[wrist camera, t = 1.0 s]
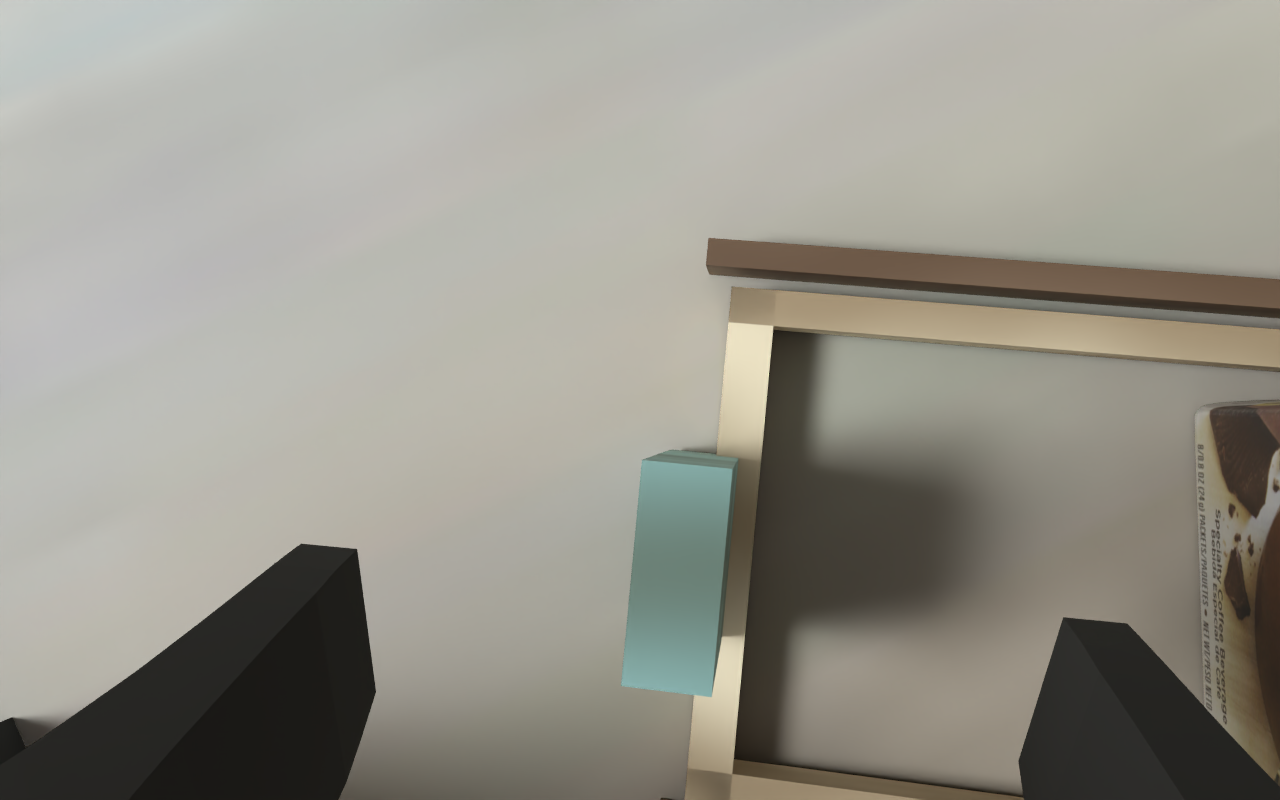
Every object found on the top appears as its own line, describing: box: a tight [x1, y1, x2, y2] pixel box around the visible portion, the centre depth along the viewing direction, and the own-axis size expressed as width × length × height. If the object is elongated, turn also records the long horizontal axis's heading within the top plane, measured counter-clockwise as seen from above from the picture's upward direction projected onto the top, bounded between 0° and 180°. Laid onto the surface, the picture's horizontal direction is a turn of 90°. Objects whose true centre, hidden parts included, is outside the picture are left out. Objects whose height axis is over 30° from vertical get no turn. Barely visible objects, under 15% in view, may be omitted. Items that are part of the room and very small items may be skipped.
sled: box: [621, 287, 1280, 800], centre depth 20 cm, size 12×21×6 cm, turn 85°
